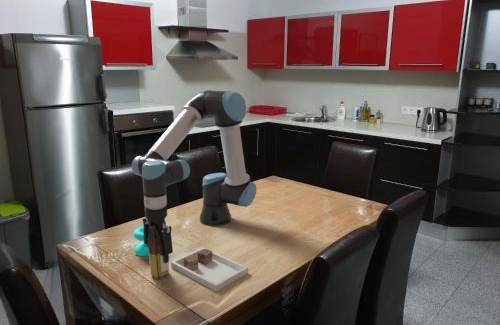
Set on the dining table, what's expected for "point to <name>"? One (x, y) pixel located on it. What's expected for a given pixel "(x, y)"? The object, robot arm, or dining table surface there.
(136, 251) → the donuts
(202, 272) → the tray
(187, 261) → the walnut block
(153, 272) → the sauce bottle
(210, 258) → the walnut block
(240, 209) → the dining table surface
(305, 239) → the dining table surface
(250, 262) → the dining table surface
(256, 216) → the dining table surface
